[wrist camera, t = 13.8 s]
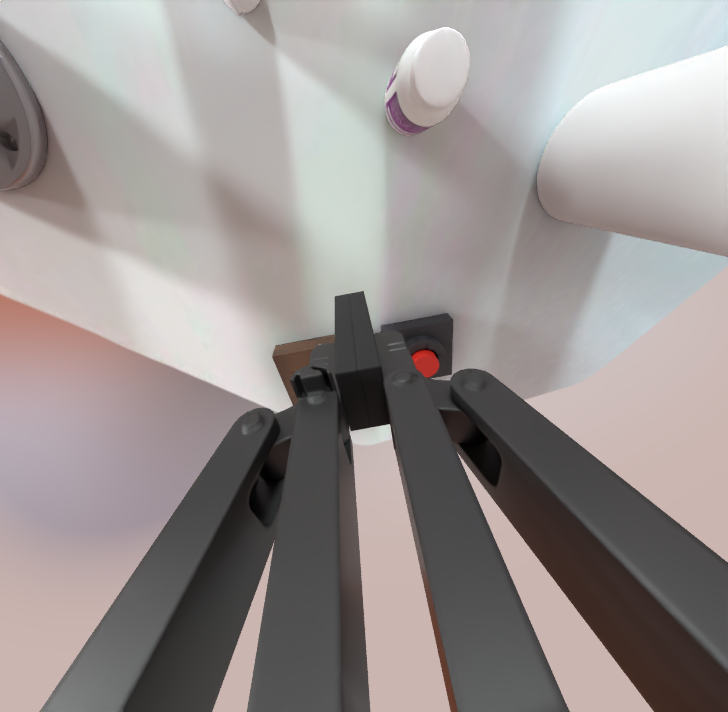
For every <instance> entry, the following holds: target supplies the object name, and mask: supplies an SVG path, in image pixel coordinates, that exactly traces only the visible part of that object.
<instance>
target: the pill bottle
mask: <svg viewBox="0 0 728 712" xmlns="http://www.w3.org/2000/svg"><path fill="white" fill-rule="evenodd" d="M469 70H470V55H469V49H468V46H467V44H466V41H465V40H464V38H463V36H462V35H461V34H460V33H459V32H457V31H456V30H454V29H452V28H446V27H444V28H440V29H437V30H435V31H428V32H426V33H423V34H421V35H420V36H418V37H417V38H416V39H415V40H414V41H413V42H412V43H411V44H410V45H409V46H408V47H407V49H406V50H405V52H404V54H403V56H402V58H401V59H400V61H399V63H398V65H397V66H396V68H395V70H394V72H393V74H392V76H391V78H390V80H389V82H388V85H387V88H386V92H385V102H384V104H385V112H386V116H387V119H388V121H389V123H390V124H391V126H392V127H393V128H394V129H395V130H396V131H397V132H399V133H400V134H402V135H407V136H411V135H416V134H418V133H421V132H422V131H424V130H426V129H428V128H430V127H432V126H434V125H436V124H438V123H440V122H441V121H442V120H444V119H445V118H446V117H447V116H448V115H449V114H450V113H451V111H452V110H453V109H454V107H455V105H456V104H457V102H458V100H459V97H460V95H461V92H462V91H463V89H464V87H465V85H466V82H467V79H468V75H469Z"/></svg>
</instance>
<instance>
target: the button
mask: <svg viewBox="0 0 728 712" xmlns="http://www.w3.org/2000/svg"><path fill="white" fill-rule="evenodd" d="M411 357H412V359H413V362H414V364H415V366H416V369H417V370H419V371H420V372H421V373H422V374H423V375H424V377H426V378H428V377H431V376H432V375H434V374H435V373H436V372H437V371H438V369H439V361H438V359H437V357H436V356H435V354H434V353H433V352H432V351H431V350H428V349H421V350H418V351H416V352H414V353H413V354H412V355H411Z"/></svg>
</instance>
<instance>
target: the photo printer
mask: <svg viewBox="0 0 728 712" xmlns="http://www.w3.org/2000/svg"><path fill="white" fill-rule="evenodd" d="M223 1H224V2H225V3H226V4H227V5H228V6H229V7H230V8H231V9H232V10H233V11H234V12H235V13H236V14H237V15H238V16H240V14H241V13H242V12H243V13H248V12H250V11H252V10H254V9H255V8H256V6H257V5H258V3H259V1H260V0H223Z"/></svg>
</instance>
